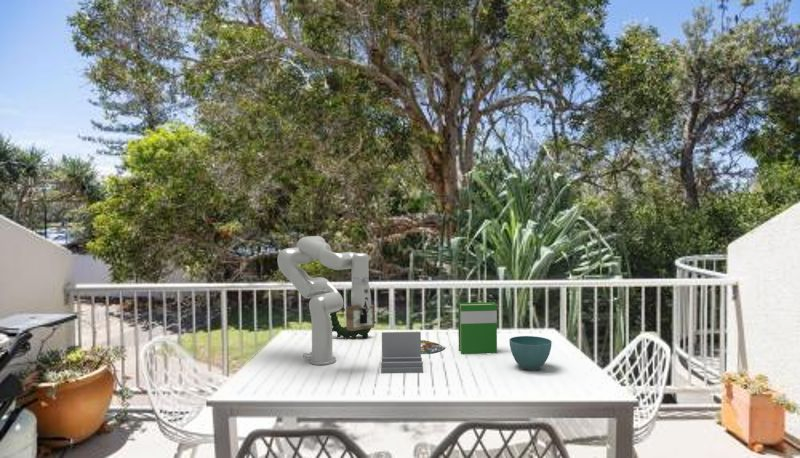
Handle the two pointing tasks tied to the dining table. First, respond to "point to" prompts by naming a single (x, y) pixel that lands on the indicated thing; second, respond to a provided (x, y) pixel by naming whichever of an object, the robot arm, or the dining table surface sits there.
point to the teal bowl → (530, 351)
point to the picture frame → (358, 318)
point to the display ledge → (401, 352)
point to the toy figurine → (343, 330)
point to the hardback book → (477, 327)
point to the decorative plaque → (430, 347)
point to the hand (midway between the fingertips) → (360, 321)
